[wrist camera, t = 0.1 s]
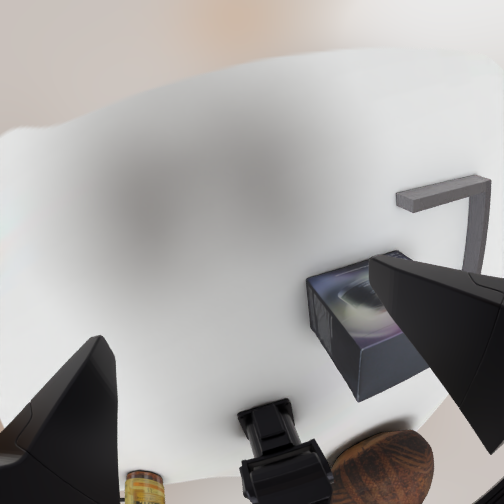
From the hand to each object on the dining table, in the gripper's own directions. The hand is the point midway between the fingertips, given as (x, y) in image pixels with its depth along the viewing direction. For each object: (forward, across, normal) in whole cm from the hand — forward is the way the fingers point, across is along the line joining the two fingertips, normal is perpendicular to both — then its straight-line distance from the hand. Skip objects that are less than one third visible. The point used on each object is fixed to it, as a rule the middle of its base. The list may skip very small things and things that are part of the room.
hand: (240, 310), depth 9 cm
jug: (+15, -16, +53) cm, 57 cm away
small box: (+15, -12, +12) cm, 23 cm away
